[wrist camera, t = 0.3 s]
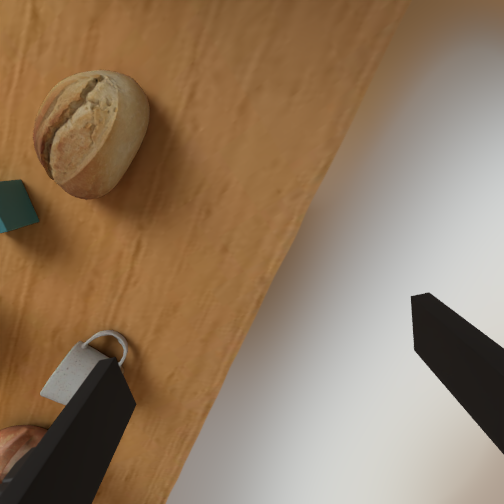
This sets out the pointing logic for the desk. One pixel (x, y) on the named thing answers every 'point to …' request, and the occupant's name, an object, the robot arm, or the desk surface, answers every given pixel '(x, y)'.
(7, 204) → the block
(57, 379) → the ceramic mug
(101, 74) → the bread roll
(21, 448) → the ceramic jug
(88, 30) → the desk surface
